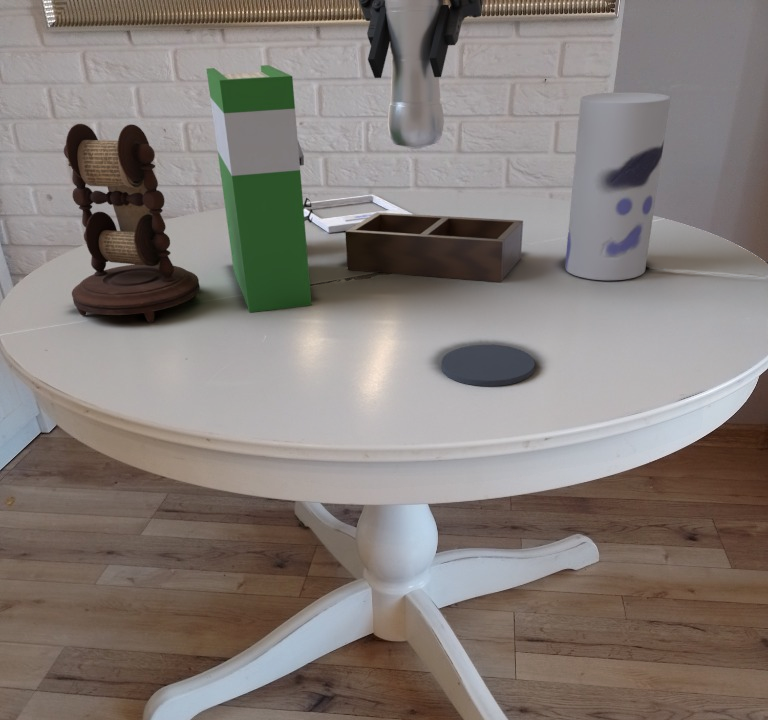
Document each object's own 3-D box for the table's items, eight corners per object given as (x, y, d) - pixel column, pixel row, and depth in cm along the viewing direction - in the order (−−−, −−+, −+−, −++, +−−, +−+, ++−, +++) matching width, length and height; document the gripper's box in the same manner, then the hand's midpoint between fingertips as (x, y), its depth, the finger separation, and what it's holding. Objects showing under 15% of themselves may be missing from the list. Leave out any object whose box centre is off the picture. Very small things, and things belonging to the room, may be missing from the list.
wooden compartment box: (521, 258, 108) (523, 220, 105) (500, 282, 99) (502, 241, 97) (377, 248, 115) (376, 212, 112) (347, 269, 106) (345, 231, 103)
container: (608, 287, 96) (631, 103, 86) (548, 269, 103) (562, 96, 92) (661, 270, 101) (689, 94, 90) (600, 254, 108) (619, 89, 97)
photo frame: (328, 225, 122) (294, 202, 136) (328, 232, 123) (294, 209, 137) (414, 213, 126) (373, 193, 140) (414, 221, 127) (373, 199, 141)
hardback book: (233, 271, 107) (206, 68, 94) (288, 265, 109) (268, 65, 96) (249, 312, 93) (219, 80, 80) (311, 305, 94) (292, 76, 81)
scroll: (223, 292, 100) (198, 115, 89) (157, 332, 88) (119, 136, 77) (125, 283, 104) (89, 114, 93) (50, 321, 93) (-1, 133, 82)
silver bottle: (384, 153, 90) (377, -65, 79) (392, 143, 96) (386, -61, 85) (441, 152, 89) (442, -69, 78) (446, 142, 95) (447, -65, 84)
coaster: (543, 355, 79) (543, 349, 79) (522, 391, 72) (523, 385, 72) (456, 345, 82) (456, 340, 82) (428, 379, 75) (428, 373, 75)
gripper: (535, -87, 89) (496, 92, 86) (376, -75, 95) (333, 94, 91) (528, -154, 82) (486, 38, 78) (357, -136, 88) (310, 43, 84)
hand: (404, 67), depth 85 cm, fingers closed on silver bottle, 6 cm apart
